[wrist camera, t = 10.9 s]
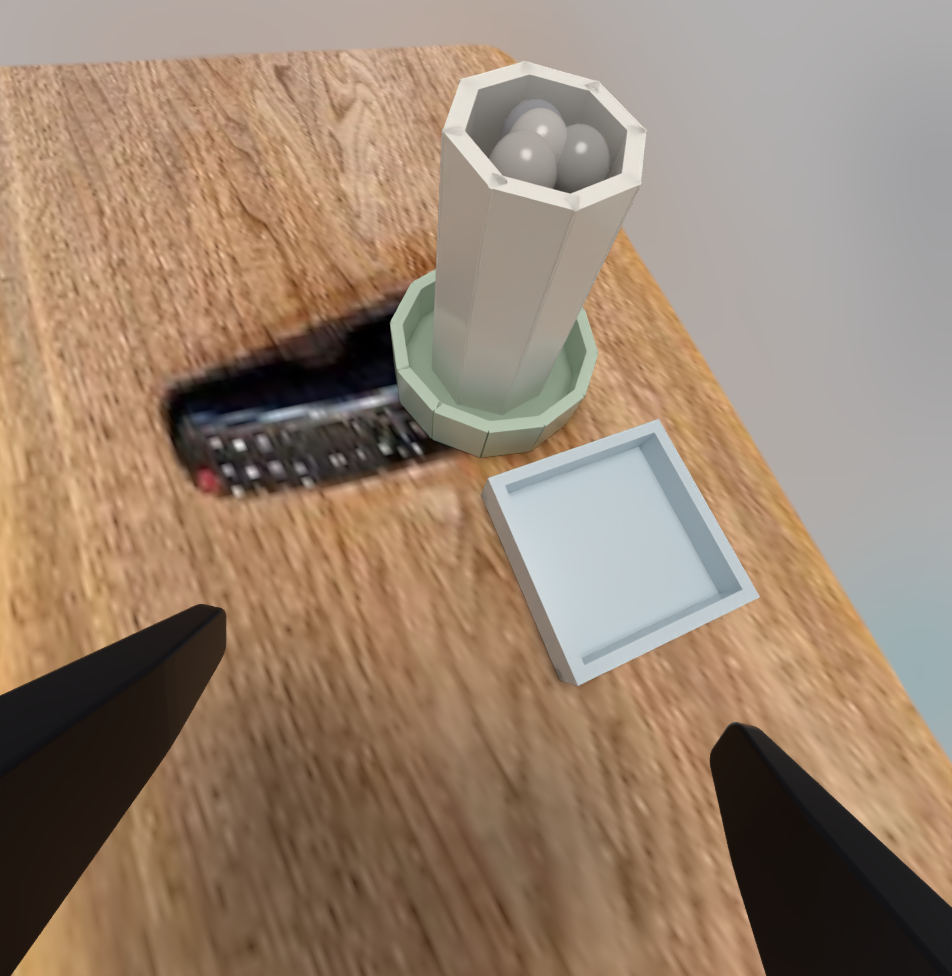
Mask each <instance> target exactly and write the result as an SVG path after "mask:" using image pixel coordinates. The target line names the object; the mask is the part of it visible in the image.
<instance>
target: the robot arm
mask: <svg viewBox="0 0 952 976" xmlns="http://www.w3.org/2000/svg"><path fill="white" fill-rule="evenodd" d="M225 649H226V612H225V610H224V609H222V608H219V607H214V606H210V605H205V604H199V605H195V606H193V607H191V608H189V609H186V610H184V611H182V612H180V613H178V614H176V615H173V616H171V617H169V618H167V619H165V620H163V621H160V622H158V623H156V624H154V625H152V626H150V627H147V628H145V629H143V630H141V631H139V632H137V633H134V634H132V635H130V636H128V637H126V638H124V639H121V640H119V641H117V642H115V643H113V644H111V645H108V646H106V647H104V648H102V649H100V650H98V651H95V652H93V653H91V654H89V655H87V656H85V657H82V658H80V659H78V660H76V661H74V662H72V663H69V664H67V665H65V666H63V667H61V668H59V669H57V670H54V671H52V672H50V673H48V674H46V675H44V676H41V677H39V678H37V679H35V680H33V681H31V682H28V683H26V684H24V685H22V686H20V687H18V688H15V689H13V690H11V691H9V692H7V693H5V694H2V695H0V976H11V975H12V973H13V972H14V970H15V969H16V967H17V966H18V965H19V963H20V962H21V960H22V959H23V958H24V956H25V955H26V953H27V952H28V950H29V949H30V948H31V946H32V945H33V943H34V942H35V940H36V939H37V938H38V936H39V935H40V933H41V932H42V931H43V929H44V928H45V926H46V925H47V923H48V922H49V921H50V919H51V918H52V916H53V915H54V913H55V912H56V911H57V909H58V908H59V906H60V905H61V904H62V902H63V901H64V899H65V898H66V896H67V895H68V894H69V892H70V891H71V889H72V888H73V887H74V885H75V884H76V882H77V881H78V879H79V878H80V877H81V875H82V874H83V872H84V871H85V869H86V868H87V867H88V865H89V864H90V862H91V861H92V860H93V858H94V857H95V855H96V854H97V852H98V851H99V850H100V848H101V847H102V845H103V844H104V842H105V841H106V840H107V838H108V837H109V835H110V834H111V833H112V831H113V830H114V828H115V827H116V825H117V824H118V823H119V821H120V820H121V818H122V817H123V815H124V814H125V813H126V811H127V810H128V808H129V807H130V806H131V804H132V803H133V801H134V800H135V798H136V797H137V796H138V794H139V793H140V791H141V790H142V788H143V787H144V786H145V784H146V783H147V781H148V780H149V779H150V777H151V776H152V774H153V773H154V771H155V770H156V769H157V767H158V766H159V764H160V763H161V761H162V760H163V758H164V757H165V755H166V754H167V752H168V751H169V749H170V748H171V746H172V745H173V743H174V741H175V740H176V738H177V736H178V735H179V733H180V731H181V729H182V728H183V726H184V724H185V722H186V721H187V719H188V717H189V715H190V714H191V712H192V710H193V708H194V707H195V705H196V703H197V701H198V700H199V698H200V696H201V694H202V693H203V691H204V689H205V687H206V686H207V684H208V682H209V680H210V679H211V677H212V675H213V673H214V672H215V670H216V668H217V666H218V665H219V663H220V661H221V659H222V657H223V655H224V652H225ZM710 767H711V772H712V777H713V781H714V786H715V790H716V795H717V799H718V804H719V808H720V813H721V817H722V822H723V827H724V831H725V836H726V840H727V845H728V849H729V853H730V857H731V861H732V865H733V869H734V872H735V876H736V879H737V883H738V886H739V889H740V892H741V896H742V899H743V902H744V905H745V909H746V912H747V915H748V918H749V922H750V925H751V928H752V931H753V935H754V938H755V941H756V944H757V948H758V951H759V954H760V957H761V961H762V964H763V967H764V970H765V973H766V976H952V907H951V906H950V905H949V904H948V903H946V902H945V901H944V900H943V899H942V898H941V897H940V896H939V895H938V894H937V893H936V892H935V891H934V890H933V889H931V888H930V887H929V886H928V885H927V884H926V883H925V882H924V881H923V880H922V879H921V878H920V877H919V876H917V875H916V874H915V873H914V872H913V871H912V870H911V869H910V868H909V867H908V866H907V865H906V864H905V863H903V862H902V861H901V860H900V859H899V858H898V857H897V856H896V855H895V854H894V853H893V852H892V851H891V850H890V849H888V848H887V847H886V846H885V845H884V844H883V843H882V842H881V841H880V840H879V839H878V838H877V837H876V836H874V835H873V834H872V833H871V832H870V831H869V830H868V829H867V828H866V827H865V826H864V825H863V824H862V823H860V822H859V821H858V820H857V819H856V818H855V817H854V816H853V815H852V814H851V813H850V812H849V811H848V810H847V809H845V808H844V807H843V806H842V805H841V804H840V803H839V802H838V801H837V800H836V799H835V798H834V797H833V796H831V795H830V794H829V793H828V792H827V791H826V790H825V789H824V788H823V787H822V786H821V785H820V784H819V783H817V782H816V781H815V780H814V779H813V778H812V777H811V776H810V775H809V774H808V773H807V772H806V771H805V770H804V769H802V768H801V767H800V766H799V765H798V764H797V763H796V762H795V761H794V760H793V759H792V758H791V757H790V756H788V755H787V754H786V753H785V752H784V751H783V750H782V749H781V748H780V747H779V746H778V745H777V744H776V743H775V742H773V741H772V740H771V739H770V738H769V737H768V736H767V735H766V734H765V733H764V732H763V731H762V730H760V729H759V728H757V727H755V726H752V725H747V724H743V723H738V722H733V723H731V724H729V725H728V726H727V728H726V729H725V731H724V732H723V734H722V735H721V737H720V738H719V740H718V741H717V743H716V744H715V746H714V747H713V749H712V750H711V754H710Z"/></svg>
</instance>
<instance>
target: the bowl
mask: <svg viewBox="0 0 952 976" xmlns="http://www.w3.org/2000/svg"><path fill="white" fill-rule="evenodd" d="M435 279H436V269H435V270H433V271H432V272H430V273H428V274H426V275H424V276H423V277H421V278H419V279H417V280H415V281H414V282H412V283H411V285H410V287H409V288H408V290H407V292H406V294H405V296H404V298H403V300H402V301H401V303H400V305H399V307H398V309H397V311H396V313H395V314H394V316H393V318H392V320H391V323H390V326H391V337H392V348H393V358H394V366H395V373H396V380H397V387H398V394H399V401H400V403H401V404H402V405H403V406H404V408H405V409H406V410H407V411H408V412H409V413H410V415H411V416H412V417H413V418H414V419H415V420H416V422H417V423H418V424H419V425H420V426H421V427H422V429H423V430H424V431H425V432H426V433H427V434H428V436H429V437H430V438H432V440H435V441H438V442H440V443H443V444H446V445H448V446H451V447H453V448H456V449H459V450H461V451H464V452H467V453H469V454H472V455H474V456H477V457H480V455H481V458H483V457H491V456H499V455H507V454H516V453H524V452H530V451H532V450H533V449H535V448H536V447H537V446H539V445H540V444H541V443H542V442H544V441H545V440H546V439H548V438H549V437H550V436H551V435H553V434H554V433H555V432H557V431H558V430H559V429H561V428H562V427H563V426H564V425H566V423H567V422H568V420H569V419H570V417H571V416H572V414H573V413H574V412H575V410H576V409H577V407H578V406H579V404H580V403H581V401H582V400H583V398H584V397H585V394H586V391H587V388H588V385H589V382H590V378H591V375H592V372H593V369H594V366H595V362H596V359H597V356H598V351H597V347H596V344H595V341H594V338H593V334H592V331H591V328H590V324H589V321H588V318H587V315H586V311H585V310H584V308H583V307H582V308H581V311H580V313H579V315H578V317H577V319H576V321H575V323H574V325H573V327H572V329H571V331H570V333H569V335H568V337H567V339H566V341H565V344H564V346H563V348H562V350H561V352H560V354H559V356H558V358H557V360H556V362H555V364H554V366H553V368H552V370H551V372H550V374H549V377H548V379H547V381H546V383H545V385H544V387H543V389H542V391H541V393H540V395H539V396H536V397H535V398H533V399H531V400H529V401H527V402H525V403H524V404H522V405H520V406H518V407H516V408H514V409H513V410H511V411H509V412H507V413H505V414H503V415H502V416H501V415H499V414H495V413H491V412H487V411H483V410H479V409H475V408H470V407H466V406H462V405H457V404H456V402H455V401H454V399H453V398H452V397H451V395H450V394H449V392H448V391H447V389H446V388H445V387H444V385H443V384H442V382H441V381H440V379H439V378H438V376H437V375H436V374H435V372H434V371H433V370H432V350H433V326H434V303H435Z"/></svg>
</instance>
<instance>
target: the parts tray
mask: <svg viewBox="0 0 952 976" xmlns="http://www.w3.org/2000/svg"><path fill="white" fill-rule="evenodd" d="M481 496H482V498H483V500H484V503H485V505H486V508H487V510H488V512H489V515H490V517H491V519H492V522H493V524H494V526H495V529H496V531H497V534H498V536H499V538H500V541H501V543H502V545H503V548H504V550H505V552H506V555H507V557H508V559H509V562H510V564H511V567H512V569H513V571H514V574H515V576H516V578H517V581H518V583H519V585H520V588H521V590H522V592H523V595H524V597H525V600H526V602H527V604H528V607H529V609H530V611H531V614H532V616H533V618H534V621H535V623H536V626H537V628H538V630H539V633H540V635H541V637H542V640H543V642H544V644H545V647H546V649H547V651H548V654H549V656H550V659H551V661H552V663H553V666H554V668H555V670H556V673H557V675H558V677H559V680H560V681H562V682H566V683H570V684H573V685H577V686H579V685H581V684H583V683H585V682H587V681H589V680H591V679H593V678H595V677H597V676H599V675H601V674H603V673H605V672H607V671H610V670H612V669H614V668H616V667H618V666H620V665H622V664H624V663H626V662H628V661H630V660H632V659H634V658H636V657H638V656H640V655H642V654H644V653H646V652H648V651H650V650H653V649H655V648H657V647H659V646H661V645H663V644H665V643H667V642H669V641H671V640H673V639H675V638H677V637H679V636H681V635H683V634H685V633H687V632H689V631H691V630H694V629H696V628H698V627H700V626H702V625H704V624H706V623H708V622H710V621H712V620H714V619H716V618H718V617H720V616H722V615H724V614H726V613H728V612H730V611H732V610H735V609H737V608H739V607H741V606H743V605H745V604H747V603H749V602H751V601H753V600H755V599H757V598H759V597H760V596H759V595H758V593H757V591H756V589H755V588H754V586H753V584H752V582H751V580H750V579H749V577H748V575H747V573H746V572H745V570H744V568H743V566H742V565H741V563H740V561H739V559H738V558H737V556H736V554H735V552H734V551H733V549H732V547H731V545H730V544H729V542H728V540H727V538H726V537H725V535H724V533H723V531H722V529H721V528H720V526H719V524H718V522H717V521H716V519H715V517H714V515H713V514H712V512H711V510H710V508H709V507H708V505H707V503H706V501H705V500H704V498H703V496H702V494H701V493H700V491H699V489H698V487H697V486H696V484H695V482H694V480H693V478H692V477H691V475H690V473H689V471H688V470H687V468H686V466H685V464H684V463H683V461H682V459H681V457H680V456H679V454H678V452H677V450H676V449H675V447H674V445H673V443H672V442H671V440H670V438H669V436H668V435H667V433H666V431H665V429H664V427H663V426H662V424H661V422H660V420H659V419H657V420H654V421H651V422H648V423H646V424H643V425H640V426H637V427H634V428H631V429H628V430H625V431H622V432H620V433H617V434H614V435H611V436H608V437H605V438H602V439H599V440H597V441H594V442H591V443H588V444H585V445H582V446H579V447H576V448H573V449H571V450H568V451H565V452H562V453H559V454H556V455H553V456H550V457H548V458H545V459H542V460H539V461H536V462H533V463H530V464H527V465H524V466H522V467H519V468H516V469H513V470H510V471H507V472H504V473H501V474H499V475H496V476H493V477H490V478H488V479H487V482H486V484H485V487H484V489H483V491H482V494H481Z"/></svg>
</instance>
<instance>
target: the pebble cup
mask: <svg viewBox="0 0 952 976" xmlns="http://www.w3.org/2000/svg"><path fill="white" fill-rule="evenodd" d="M646 134H647V130H646V129H645V128H644V127H643V126H642V125H641V124H640V123H639V122H638V121H637V120H636V119H635V118H634V117H633V116H632V115H631V114H630V113H629V112H628V111H627V110H626V109H625V108H624V107H623V106H622V105H621V104H620V103H619V102H618V101H617V100H616V99H615V98H614V97H613V96H612V95H611V94H610V93H609V92H608V91H607V90H606V89H605V88H604V87H603V86H602V85H601V84H600V82H598V81H594V80H591V79H587V78H583V77H580V76H576V75H573V74H569V73H565V72H562V71H559V70H554V69H551V68H547V67H544V66H541V65H537V64H533V63H530V62H527V61H523V62H521V63H517V64H514V65H510V66H506V67H503V68H499V69H496V70H492V71H489V72H485V73H482V74H478V75H474V76H471V77H467V78H464V79H463V78H461V79H460V80H459V87H458V89H457V92H456V95H455V98H454V101H453V104H452V106H451V109H450V112H449V115H448V118H447V121H446V124H445V126H444V129H442V138H441V162H440V185H439V209H438V232H437V256H436V279H435V303H434V326H433V350H432V370H433V371H434V372H435V374H436V375H437V376H438V378H439V379H440V381H441V382H442V384H443V385H444V387H445V388H446V389H447V391H448V392H449V394H450V395H451V397H452V398H453V399H454V401H455V402H456V404H457V405H462V406H466V407H470V408H475V409H479V410H483V411H487V412H491V413H495V414H499V415H501V416H502V415H503V414H505V413H507V412H509V411H511V410H513V409H514V408H516V407H518V406H520V405H522V404H524V403H525V402H527V401H529V400H531V399H533V398H535V397H536V396H539V395H540V393H541V391H542V389H543V387H544V385H545V383H546V381H547V379H548V377H549V374H550V372H551V370H552V368H553V366H554V364H555V362H556V360H557V358H558V356H559V354H560V352H561V350H562V348H563V346H564V344H565V341H566V339H567V337H568V335H569V333H570V331H571V329H572V327H573V325H574V323H575V321H576V319H577V317H578V315H579V313H580V311H581V308H582V306H583V304H584V302H585V300H586V298H587V296H588V294H589V292H590V290H591V288H592V286H593V284H594V282H595V280H596V278H597V275H598V273H599V271H600V269H601V267H602V265H603V263H604V261H605V259H606V257H607V255H608V253H609V251H610V249H611V247H612V245H613V242H614V240H615V238H616V236H617V234H618V232H619V230H620V228H621V226H622V224H623V222H624V220H625V218H626V216H627V214H628V212H629V209H630V207H631V205H632V203H633V201H634V199H635V197H636V195H637V193H638V191H639V189H640V187H641V185H642V183H641V176H642V167H643V157H644V148H645V139H646Z"/></svg>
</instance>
